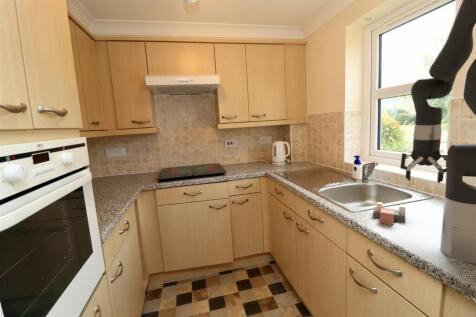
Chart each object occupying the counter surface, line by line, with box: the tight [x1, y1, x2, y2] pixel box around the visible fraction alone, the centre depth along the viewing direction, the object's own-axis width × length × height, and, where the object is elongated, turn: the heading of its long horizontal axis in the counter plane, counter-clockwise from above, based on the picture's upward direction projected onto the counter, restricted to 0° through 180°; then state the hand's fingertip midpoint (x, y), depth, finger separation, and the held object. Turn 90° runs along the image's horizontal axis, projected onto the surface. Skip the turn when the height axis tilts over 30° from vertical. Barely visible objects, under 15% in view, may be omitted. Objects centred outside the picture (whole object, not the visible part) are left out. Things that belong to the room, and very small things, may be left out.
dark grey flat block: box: [372, 206, 406, 223], centre depth 98 cm, size 6×11×3 cm, turn 55°
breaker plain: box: [398, 204, 406, 214], centre depth 95 cm, size 2×2×2 cm
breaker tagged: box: [376, 201, 384, 210], centre depth 100 cm, size 2×2×2 cm
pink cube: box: [379, 208, 395, 226], centre depth 94 cm, size 4×4×4 cm
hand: (423, 181), depth 86 cm, fingers open, 8 cm apart
